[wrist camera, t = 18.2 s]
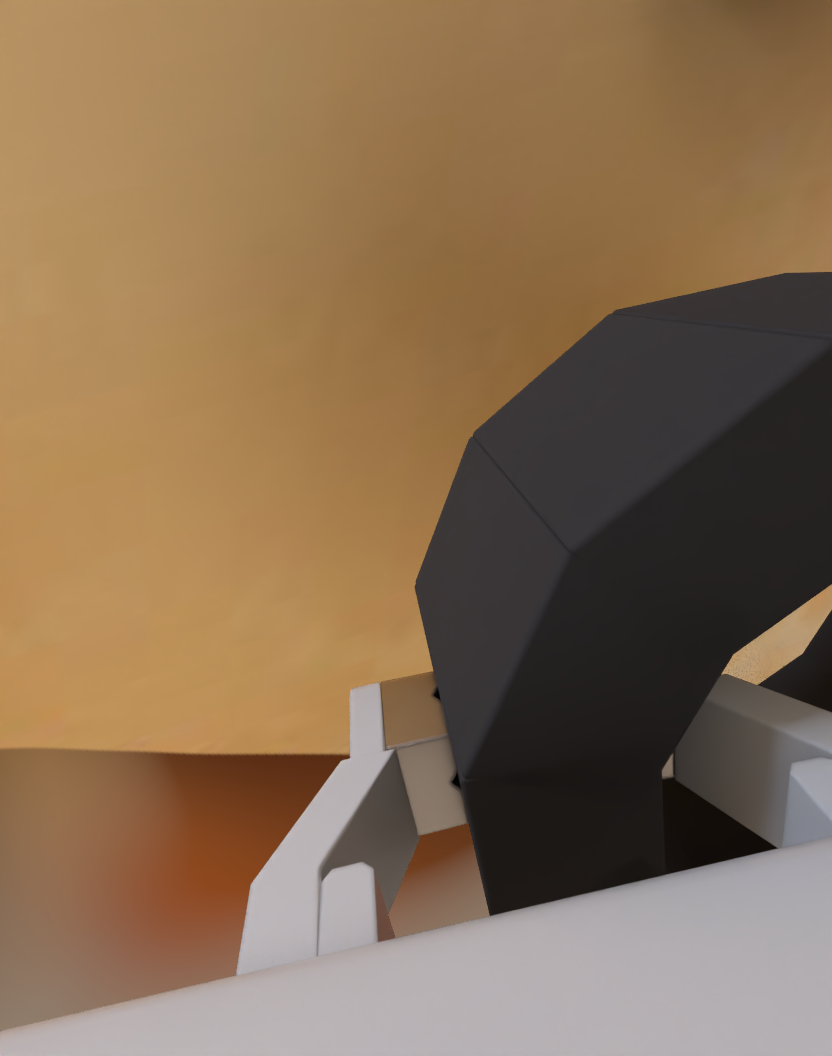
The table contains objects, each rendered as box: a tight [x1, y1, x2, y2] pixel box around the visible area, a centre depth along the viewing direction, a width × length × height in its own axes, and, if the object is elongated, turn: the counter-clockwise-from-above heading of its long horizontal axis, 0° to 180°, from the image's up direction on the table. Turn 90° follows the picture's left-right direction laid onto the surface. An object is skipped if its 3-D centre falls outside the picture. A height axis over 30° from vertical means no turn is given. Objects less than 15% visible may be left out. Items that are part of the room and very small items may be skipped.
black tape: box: [415, 272, 832, 916], centre depth 10 cm, size 11×11×5 cm
